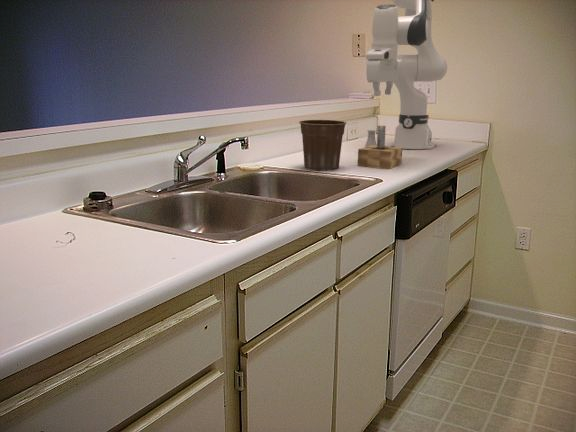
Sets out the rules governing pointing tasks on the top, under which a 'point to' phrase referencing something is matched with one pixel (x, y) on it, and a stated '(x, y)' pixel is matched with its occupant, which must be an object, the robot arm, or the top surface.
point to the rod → (381, 137)
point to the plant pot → (322, 143)
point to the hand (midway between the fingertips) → (382, 95)
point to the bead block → (380, 157)
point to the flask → (371, 138)
